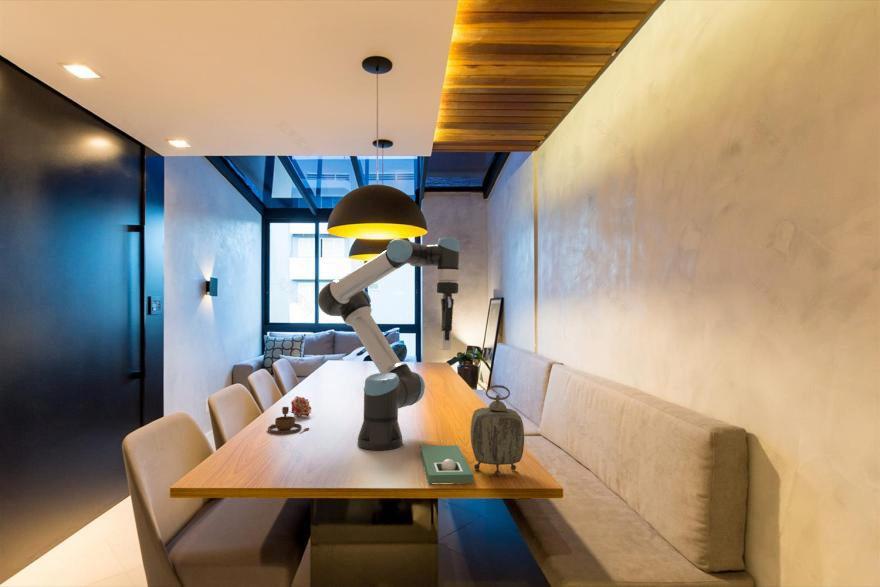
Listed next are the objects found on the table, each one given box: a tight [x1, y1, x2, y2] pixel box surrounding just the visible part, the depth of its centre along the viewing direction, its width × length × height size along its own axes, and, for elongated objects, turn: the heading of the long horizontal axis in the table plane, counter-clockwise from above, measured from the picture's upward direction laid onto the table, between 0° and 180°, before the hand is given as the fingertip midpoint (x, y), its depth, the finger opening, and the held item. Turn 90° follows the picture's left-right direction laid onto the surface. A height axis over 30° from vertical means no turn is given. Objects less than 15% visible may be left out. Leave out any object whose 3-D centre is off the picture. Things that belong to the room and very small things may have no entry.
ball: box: [442, 459, 456, 471], centre depth 129 cm, size 4×4×4 cm
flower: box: [288, 395, 312, 419], centre depth 192 cm, size 10×9×8 cm
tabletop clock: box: [470, 384, 525, 477], centre depth 131 cm, size 14×9×25 cm, turn 91°
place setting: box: [267, 406, 310, 435], centre depth 175 cm, size 18×20×6 cm
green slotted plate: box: [420, 444, 474, 484], centre depth 134 cm, size 12×26×2 cm, turn 7°
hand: (446, 349), depth 160 cm, fingers closed
